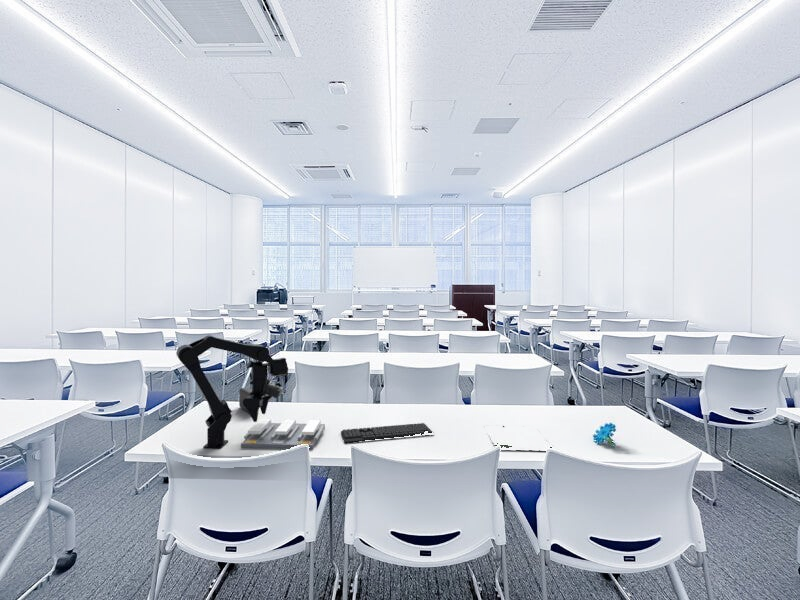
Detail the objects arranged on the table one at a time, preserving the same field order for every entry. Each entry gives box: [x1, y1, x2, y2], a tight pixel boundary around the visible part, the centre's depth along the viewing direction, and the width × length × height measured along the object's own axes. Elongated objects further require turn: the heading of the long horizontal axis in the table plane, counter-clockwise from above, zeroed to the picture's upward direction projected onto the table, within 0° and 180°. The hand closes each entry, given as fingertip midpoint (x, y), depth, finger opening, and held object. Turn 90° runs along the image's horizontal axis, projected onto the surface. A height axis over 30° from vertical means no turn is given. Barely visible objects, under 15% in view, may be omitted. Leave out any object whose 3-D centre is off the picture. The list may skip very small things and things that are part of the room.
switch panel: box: [240, 422, 326, 450], centre depth 161 cm, size 22×27×2 cm
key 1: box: [247, 418, 272, 434], centre depth 161 cm, size 13×4×1 cm, turn 179°
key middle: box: [275, 419, 297, 435], centre depth 161 cm, size 13×4×1 cm, turn 179°
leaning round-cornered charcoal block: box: [238, 387, 253, 414], centre depth 193 cm, size 16×5×9 cm, turn 40°
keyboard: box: [340, 422, 433, 444], centre depth 166 cm, size 35×11×2 cm, turn 105°
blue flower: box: [592, 422, 617, 446], centre depth 159 cm, size 11×6×10 cm
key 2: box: [302, 419, 322, 435], centre depth 161 cm, size 13×4×1 cm, turn 179°
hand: (259, 417), depth 161 cm, fingers open, 9 cm apart
